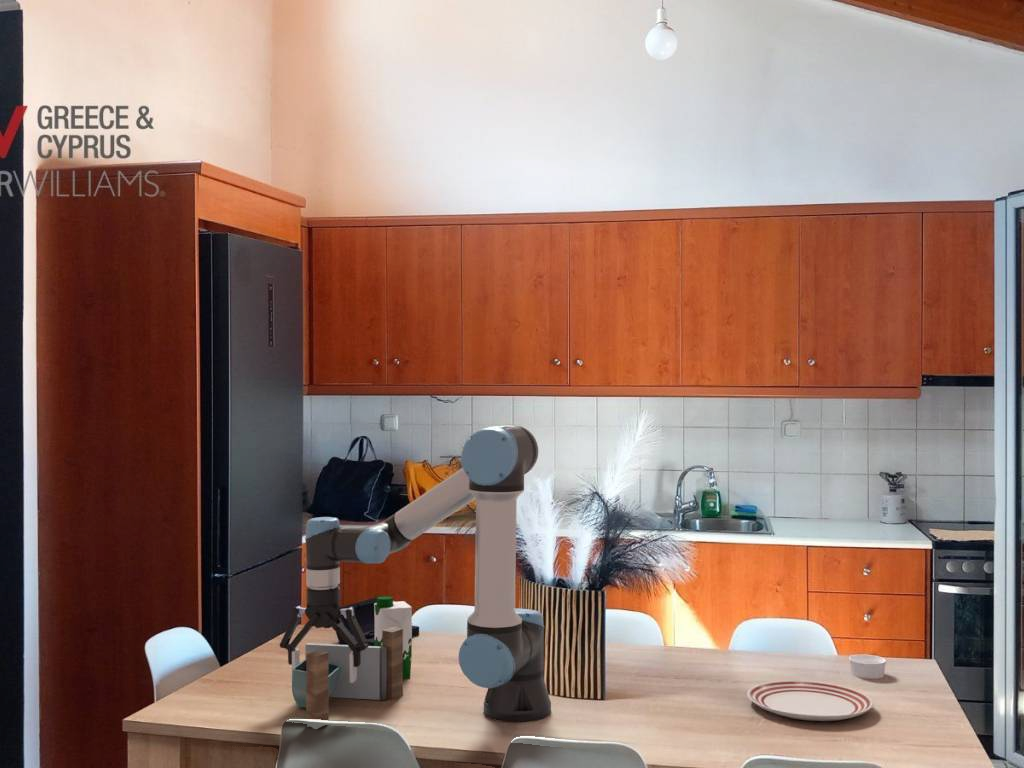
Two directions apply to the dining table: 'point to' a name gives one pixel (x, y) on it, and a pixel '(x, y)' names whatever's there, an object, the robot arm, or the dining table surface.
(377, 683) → the door
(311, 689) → the door frame
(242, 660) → the dining table surface
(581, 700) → the dining table surface
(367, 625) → the storage box
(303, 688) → the flower pot
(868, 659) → the ramekin
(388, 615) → the milk carton
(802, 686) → the dinner plate
